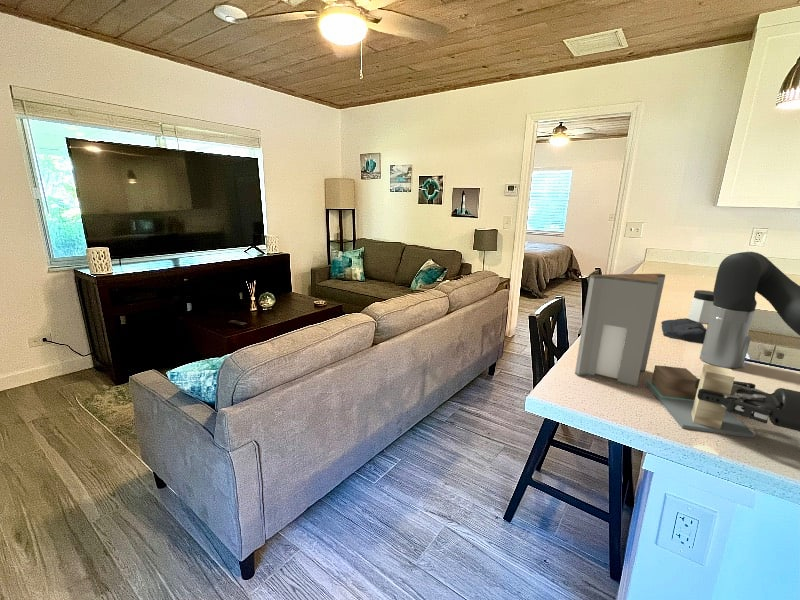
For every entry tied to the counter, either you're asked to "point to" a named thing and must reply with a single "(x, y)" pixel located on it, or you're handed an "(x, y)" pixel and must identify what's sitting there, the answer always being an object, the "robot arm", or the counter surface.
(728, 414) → the mat
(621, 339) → the cabinet
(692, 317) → the jar
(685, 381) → the base block
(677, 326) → the dark slate chunk
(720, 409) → the pillar
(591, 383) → the counter surface
